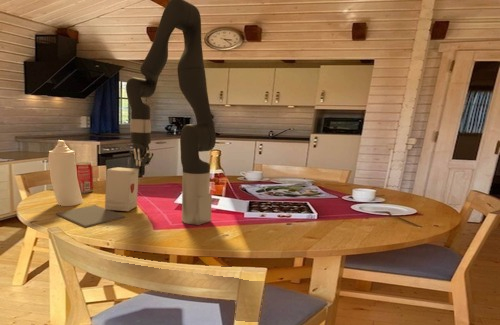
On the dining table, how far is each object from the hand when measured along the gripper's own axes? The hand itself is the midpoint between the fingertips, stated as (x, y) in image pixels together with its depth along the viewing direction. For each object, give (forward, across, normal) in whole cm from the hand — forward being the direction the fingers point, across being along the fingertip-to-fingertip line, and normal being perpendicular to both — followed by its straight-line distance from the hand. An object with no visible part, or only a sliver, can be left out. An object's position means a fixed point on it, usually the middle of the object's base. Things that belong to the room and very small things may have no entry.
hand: (141, 175), depth 126 cm
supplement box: (+12, 0, +9) cm, 15 cm away
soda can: (+12, +36, +5) cm, 38 cm away
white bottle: (+12, +20, +19) cm, 30 cm away
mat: (+12, 0, +20) cm, 24 cm away
